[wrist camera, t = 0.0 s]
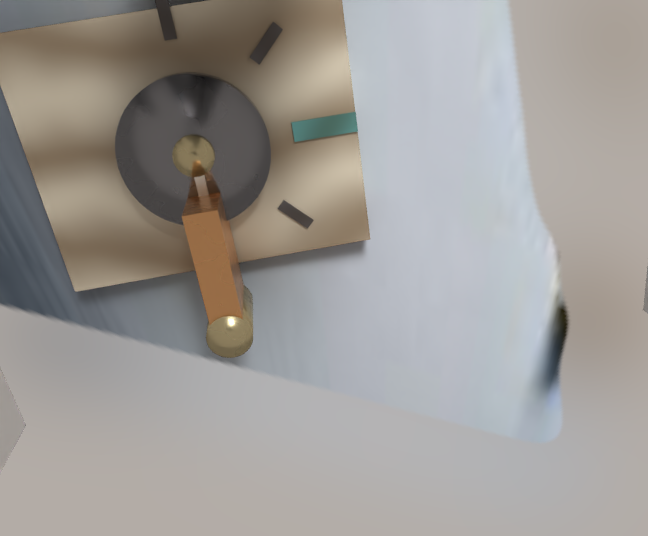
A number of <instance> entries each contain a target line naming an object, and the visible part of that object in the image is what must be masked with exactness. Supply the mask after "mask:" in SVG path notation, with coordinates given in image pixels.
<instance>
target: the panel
mask: <svg viewBox="0 0 648 536" xmlns="http://www.w3.org/2000/svg"><path fill="white" fill-rule="evenodd" d="M155 3H156V7H157V8H156V9H149V10H143V11H137V12H130V13H124V14H118V15H111V16H105V17H98V18H92V19H86V20H79V21H73V22H67V23H60V24H54V25H47V26H41V27H35V28H28V29H22V30H16V31H9V32H3V33H0V86H1V88H2V91H3V94H4V97H5V99H6V102H7V105H8V108H9V110H10V113H11V116H12V119H13V121H14V124H15V127H16V130H17V132H18V135H19V138H20V141H21V143H22V146H23V149H24V152H25V155H26V157H27V160H28V163H29V166H30V168H31V171H32V174H33V177H34V179H35V182H36V185H37V188H38V190H39V193H40V196H41V199H42V201H43V204H44V207H45V210H46V212H47V215H48V218H49V221H50V224H51V226H52V229H53V232H54V235H55V237H56V240H57V243H58V246H59V248H60V251H61V254H62V257H63V259H64V262H65V265H66V268H67V270H68V273H69V276H70V279H71V281H72V284H73V287H74V290H75V292H77V291H83V290H88V289H94V288H100V287H105V286H111V285H116V284H122V283H128V282H133V281H139V280H145V279H150V278H156V277H161V276H167V275H173V274H178V273H184V272H189V271H195V266H194V262H193V259H192V255H191V251H190V247H189V243H188V239H187V236H186V232H185V228H184V225H180V224H176V223H172V222H170V221H167V220H165V219H162V218H160V217H159V216H157V215H155V214H153V213H152V212H150V211H149V210H148V209H146V208H145V207H144V206H143V205H142V204H141V203H139V202H138V201H137V199H136V198H135V197H134V196H133V195H132V194H131V192H130V191H129V189H128V188H127V186H126V185H125V183H124V181H123V179H122V177H121V174H120V172H119V169H118V165H117V161H116V155H115V136H116V131H117V126H118V123H119V121H120V118H121V116H122V114H123V112H124V110H125V108H126V107H127V105H128V104H129V103H130V101H131V100H132V99H133V98H134V97H135V96H136V95H137V94H138V93H139V92H140V91H141V90H143V89H144V88H145V87H147V86H148V85H149V84H151V83H153V82H154V81H156V80H158V79H160V78H163V77H165V76H168V75H172V74H176V73H184V72H198V73H204V74H209V75H213V76H216V77H219V78H221V79H223V80H225V81H228V82H229V83H231V84H233V85H234V86H236V87H237V88H239V89H240V90H241V91H242V92H243V93H245V94H246V95H247V96H248V97H249V99H250V100H251V101H252V102H253V103H254V105H255V106H256V107H257V109H258V110H259V112H260V114H261V116H262V117H263V119H264V122H265V124H266V127H267V130H268V134H269V139H270V147H271V164H270V170H269V174H268V177H267V181H266V183H265V185H264V187H263V189H262V191H261V193H260V194H259V196H258V197H257V198H256V200H255V201H254V202H253V203H252V204H251V205H250V206H249V207H248V208H247V209H246V210H245V211H243V212H242V213H241V214H239V215H238V216H236V217H234V218H232V219H230V220H229V222H230V227H231V231H232V236H233V240H234V245H235V249H236V254H237V258H238V262H239V263H240V262H246V261H251V260H257V259H263V258H268V257H274V256H279V255H285V254H291V253H296V252H302V251H307V250H313V249H319V248H324V247H330V246H336V245H341V244H347V243H352V242H358V241H364V240H369V239H370V233H369V225H368V216H367V208H366V199H365V191H364V183H363V174H362V166H361V157H360V149H359V140H358V132H357V131H358V129H357V121H356V112H355V107H354V98H353V90H352V81H351V73H350V65H349V56H348V48H347V39H346V31H345V22H344V14H343V6H342V0H207V1H200V2H194V3H188V4H181V5H175V6H169V1H168V0H155Z"/></svg>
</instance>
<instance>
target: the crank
mask: <svg viewBox="0 0 648 536" xmlns="http://www.w3.org/2000/svg"><path fill="white" fill-rule="evenodd" d="M115 155H116V161H117V165H118V169H119V172H120V174H121V177H122V179H123V181H124V183H125V185H126V186H127V188H128V189H129V191H130V192H131V194H132V195H133V196H134V197H135V198H136V199H137V201H138V202H139V203H141V204H142V205H143V206H144V207H145V208H146V209H148V210H149V211H150V212H152V213H153V214H155V215H157V216H159V217H160V218H162V219H165V220H167V221H170V222H172V223H176V224H180V225H184V228H185V232H186V236H187V239H188V243H189V247H190V251H191V255H192V259H193V262H194V266H195V270H196V274H197V278H198V282H199V285H200V289H201V293H202V297H203V301H204V305H205V308H206V312H207V316H208V327H207V335H206V341H207V344H208V346H209V348H210V349H211V350H212V351H213V352H214V353H215V354H217V355H219V356H222V357H227V358H232V357H237V356H240V355H242V354H244V353H245V352H246V351H247V350H248V349H249V348H250V347H251V345H252V342H253V299H252V294H251V292H250V291H249V289H248V288H247V287H245V286H244V285H243V280H242V276H241V271H240V267H239V262H238V258H237V254H236V249H235V245H234V240H233V236H232V231H231V227H230V222H229V220H230V219H232V218H234V217H236V216H238V215H239V214H241V213H242V212H243V211H245V210H246V209H247V208H248V207H249V206H250V205H251V204H252V203H253V202H254V201H255V200H256V198H257V197H258V196H259V194H260V193H261V191H262V189H263V187H264V185H265V183H266V181H267V177H268V174H269V170H270V164H271V147H270V139H269V134H268V130H267V127H266V124H265V122H264V119H263V117H262V116H261V114H260V112H259V110H258V109H257V107H256V106H255V105H254V103H253V102H252V101H251V100H250V99H249V97H248V96H247V95H246V94H245V93H243V92H242V91H241V90H240V89H239V88H237V87H236V86H234V85H233V84H231V83H229V82H228V81H225V80H223V79H221V78H219V77H216V76H213V75H209V74H204V73H198V72H184V73H176V74H172V75H168V76H165V77H163V78H160V79H158V80H156V81H154V82H153V83H151V84H149V85H148V86H147V87H145V88H144V89H143V90H141V91H140V92H139V93H138V94H137V95H136V96H135V97H134V98H133V99H132V100H131V101H130V103H129V104H128V105H127V107H126V108H125V110H124V112H123V114H122V116H121V118H120V121H119V123H118V126H117V131H116V136H115Z"/></svg>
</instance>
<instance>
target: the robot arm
mask: <svg viewBox="0 0 648 536" xmlns="http://www.w3.org/2000/svg"><path fill="white" fill-rule="evenodd" d="M643 310H644V311H645V312H647V313H648V268H647V278H646V288H645V298H644V308H643ZM25 426H26V424H25V422H24V420H23V417H22V415H21V413H20V411H19V409H18V406H17V405H16V402H15V400H14V398H13V395H12V393H11V391H10V388H9V386H8V384H7V382H6V380H5V377H4V375H3V373H2V371H1V369H0V473H1V471H2V469H3V467H4V465H5V463H6V461H7V460H8V458H9V456H10V454H11V452H12V450H13V448H14V447H15V445H16V443H17V441H18V439H19V437H20V435H21V434H22V432H23V430H24V428H25Z"/></svg>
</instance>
